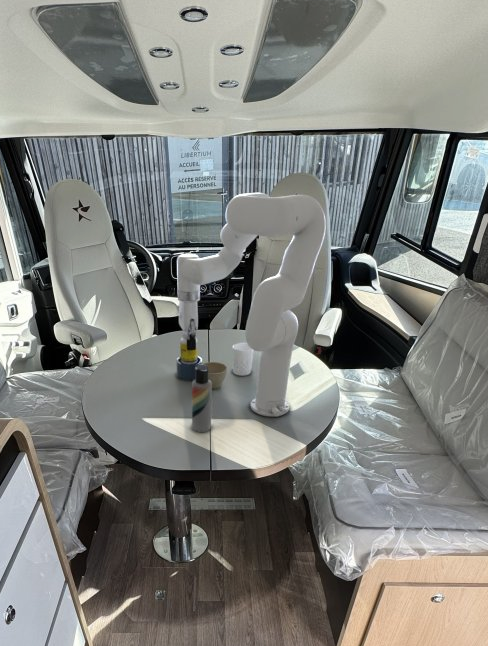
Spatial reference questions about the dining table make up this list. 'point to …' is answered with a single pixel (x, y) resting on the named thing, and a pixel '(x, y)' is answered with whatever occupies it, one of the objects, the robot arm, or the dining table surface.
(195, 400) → the lotion bottle
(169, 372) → the dining table surface
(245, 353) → the white cup
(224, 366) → the flower pot
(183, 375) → the canister
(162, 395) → the dining table surface
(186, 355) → the pill bottle
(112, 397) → the dining table surface
